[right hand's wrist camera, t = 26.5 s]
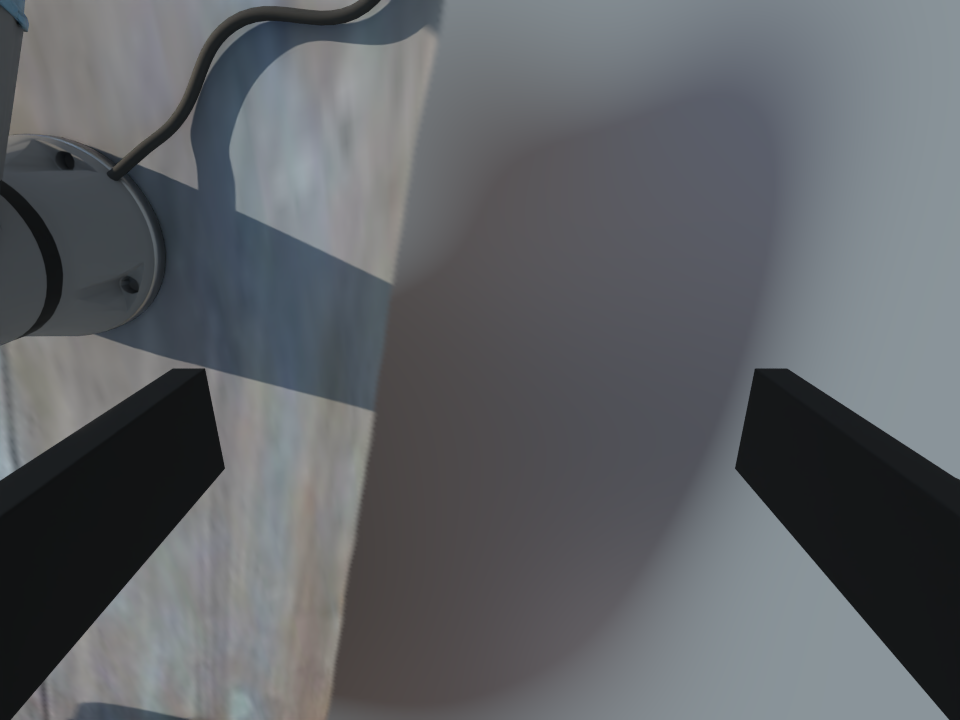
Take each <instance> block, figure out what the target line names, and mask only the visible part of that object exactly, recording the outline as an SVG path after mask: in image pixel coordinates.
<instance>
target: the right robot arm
mask: <svg viewBox="0 0 960 720" xmlns="http://www.w3.org/2000/svg"><path fill="white" fill-rule="evenodd" d="M379 2H380V0H359V1H357V2H355V3H354V4H352V5H350V6H347V7H345V8H342V9H337V10H331V11H315V10H305V9H297V8H289V7H278V6H262V7H254V8H250V9H247V10H243V11H240V12H238V13H236V14H235V15H233V16H231V17H229V18H228V19H226V20H225V21H224V22H223V23H221V24H220V25H219V26H218V27H217V28H216V29H215V30H214V32H213V33H212V34H211V35H210V37H209V38H208V40H207V41H206V43H205V44H204V46H203V48H202V50H201V52H200V54H199V57H198V59H197V62H196V64H195V67H194V70H193V73H192V75H191V78H190V81H189V84H188V86H187V89H186V91H185V94H184V96H183V98H182V100H181V102H180V104H179V106H178V107H177V109H176V111H175V112H174V113H173V115H172V116H171V117H170V119H169V120H168V121H167V122H166V123H165V124H164V125H163V126H162V127H161V128H160V129H158V130H157V131H156V132H155V133H153V134H152V135H151V136H149V137H148V138H147V139H145V140H144V141H143V142H142V143H140V144H139V145H138V146H137V147H136V148H134V149H133V150H132V151H131V152H130V153H129V154H128V155H126V156H125V157H124V158H123V159H122V160H121V161H120V162H118V163H117V164H115V163H114V162H112V161H111V160H110V159H108V158H107V157H105V156H104V155H102V154H101V153H99V152H97V151H96V150H94V149H92V148H90V147H88V146H86V145H83V144H81V143H78V142H76V141H73V140H69V139H66V138H62V137H56V136H49V135H36V134H14V135H9V129H10V122H11V115H12V108H13V101H14V94H15V87H16V80H17V73H18V66H19V59H20V52H21V44H22V37H23V31H24V32H28V27H29V23H28V19H27V17H26V16H25V14H24V6H25V0H0V345H3V344H5V343H8V342H10V341H13V340H16V339H18V338H21V337H24V336H84V335H91V334H96V333H101V332H105V331H108V330H111V329H114V328H116V327H118V326H121V325H123V324H125V323H127V322H129V321H131V320H133V319H135V318H136V317H138V316H139V315H140V314H141V313H143V312H144V311H145V310H146V309H147V308H148V307H149V306H150V304H151V303H152V301H153V300H154V299H155V297H156V295H157V293H158V291H159V289H160V286H161V284H162V280H163V277H164V271H165V246H164V240H163V236H162V231H161V228H160V225H159V222H158V220H157V218H156V215H155V213H154V211H153V209H152V207H151V205H150V203H149V202H148V200H147V199H146V197H145V195H144V194H143V193H142V191H141V190H140V189H139V187H138V186H137V185H136V183H135V182H134V181H133V180H132V179H131V178H130V177H129V176H128V175H127V174H126V173H127V172H129V171H130V170H131V169H132V168H133V167H134V166H135V165H137V164H138V163H139V162H140V161H141V160H142V159H143V158H145V157H146V156H147V155H148V154H149V153H151V152H152V151H153V150H154V149H156V148H157V147H158V146H160V145H161V144H162V143H164V142H165V141H166V140H167V139H169V138H170V137H171V136H172V135H173V134H174V133H175V132H176V131H177V130H178V129H179V128H180V127H181V125H182V124H183V123H184V121H185V120H186V119H187V117H188V115H189V114H190V112H191V110H192V109H193V106H194V104H195V102H196V100H197V98H198V95H199V93H200V91H201V88H202V85H203V82H204V80H205V77H206V74H207V72H208V69H209V66H210V64H211V62H212V60H213V57H214V56H215V54H216V52H217V50H218V49H219V47H220V46H221V45H222V43H223V42H224V41H225V40H226V39H227V38H228V37H229V36H230V35H231V34H233V33H234V32H235V31H236V30H238V29H240V28H242V27H244V26H246V25H248V24H252V23H255V22H261V21H286V22H295V23H303V24H311V25H336V24H342V23H346V22H349V21H352V20H354V19H357V18H359V17H360V16H362V15H364V14H365V13H367V12H369V11H370V10H371V9H372V8H373V7H374V6H375V5H377V4H378V3H379ZM224 469H225V467H224V462H223V457H222V451H221V446H220V441H219V436H218V431H217V426H216V421H215V416H214V411H213V406H212V401H211V396H210V391H209V386H208V381H207V376H206V371H205V369H172V370H170V371H168V372H167V373H165V374H164V375H162V376H161V377H159V378H158V379H156V380H155V381H153V382H152V383H150V384H148V385H147V386H145V387H144V388H142V389H141V390H139V391H138V392H136V393H135V394H133V395H132V396H130V397H128V398H127V399H125V400H124V401H122V402H121V403H119V404H118V405H116V406H115V407H113V408H111V409H110V410H108V411H107V412H105V413H104V414H102V415H101V416H99V417H98V418H96V419H95V420H93V421H91V422H90V423H88V424H87V425H85V426H84V427H82V428H81V429H79V430H78V431H76V432H75V433H73V434H71V435H70V436H68V437H67V438H65V439H64V440H62V441H61V442H59V443H58V444H56V445H55V446H53V447H51V448H50V449H48V450H47V451H45V452H44V453H42V454H41V455H39V456H38V457H36V458H34V459H33V460H31V461H30V462H28V463H27V464H25V465H24V466H22V467H21V468H19V469H18V470H16V471H14V472H13V473H11V474H10V475H8V476H7V477H5V478H4V479H2V480H1V481H0V720H11V719H12V718H13V716H14V715H15V714H16V713H17V712H18V711H19V709H20V708H21V707H22V706H23V705H24V704H25V702H26V701H27V700H28V699H29V698H30V697H31V695H32V694H33V693H34V692H35V691H36V690H37V688H38V687H39V686H40V685H41V684H42V682H43V681H44V680H45V679H46V678H47V677H48V675H49V674H50V673H51V672H52V671H53V670H54V668H55V667H56V666H57V665H58V664H59V663H60V661H61V660H62V659H63V658H64V657H65V655H66V654H67V653H68V652H69V651H70V650H71V648H72V647H73V646H74V645H75V644H76V643H77V641H78V640H79V639H80V638H81V637H82V636H83V634H84V633H85V632H86V631H87V630H88V628H89V627H90V626H91V625H92V624H93V623H94V621H95V620H96V619H97V618H98V617H99V616H100V614H101V613H102V612H103V611H104V610H105V609H106V607H107V606H108V605H109V604H110V603H111V602H112V600H113V599H114V598H115V597H116V596H117V594H118V593H119V592H120V591H121V590H122V589H123V587H124V586H125V585H126V584H127V583H128V582H129V580H130V579H131V578H132V577H133V576H134V575H135V573H136V572H137V571H138V570H139V569H140V567H141V566H142V565H143V564H144V563H145V562H146V560H147V559H148V558H149V557H150V556H151V555H152V553H153V552H154V551H155V550H156V549H157V548H158V546H159V545H160V544H161V543H162V542H163V541H164V539H165V538H166V537H167V536H168V535H169V533H170V532H171V531H172V530H173V529H174V528H175V526H176V525H177V524H178V523H179V522H180V521H181V519H182V518H183V517H184V516H185V515H186V514H187V512H188V511H189V510H190V509H191V508H192V506H193V505H194V504H195V503H196V502H197V501H198V499H199V498H200V497H201V496H202V495H203V494H204V492H205V491H206V490H207V489H208V488H209V487H210V485H211V484H212V483H213V482H214V481H215V480H216V478H217V477H218V476H219V475H220V474H221V472H222V471H223V470H224ZM735 469H736V470H737V471H738V472H739V474H740V475H741V476H742V477H743V478H744V480H745V481H746V482H747V483H748V484H749V485H750V487H751V488H752V489H753V490H754V491H755V492H756V494H757V495H758V496H759V497H760V498H761V499H762V501H763V502H764V503H765V504H766V505H767V506H768V508H769V509H770V510H771V511H772V512H773V513H774V515H775V516H776V517H777V518H778V519H779V521H780V522H781V523H782V524H783V525H784V526H785V528H786V529H787V530H788V531H789V532H790V533H791V535H792V536H793V537H794V538H795V539H796V540H797V542H798V543H799V544H800V545H801V546H802V548H803V549H804V550H805V551H806V552H807V553H808V555H809V556H810V557H811V558H812V559H813V560H814V562H815V563H816V564H817V565H818V566H819V567H820V569H821V570H822V571H823V572H824V573H825V575H826V576H827V577H828V578H829V579H830V580H831V582H832V583H833V584H834V585H835V586H836V587H837V589H838V590H839V591H840V592H841V593H842V594H843V596H844V597H845V598H846V599H847V600H848V602H849V603H850V604H851V605H852V606H853V607H854V609H855V610H856V611H857V612H858V613H859V614H860V616H861V617H862V618H863V619H864V620H865V621H866V623H867V624H868V625H869V626H870V627H871V628H872V630H873V631H874V632H875V633H876V634H877V636H878V637H879V638H880V639H881V640H882V641H883V643H884V644H885V645H886V646H887V647H888V648H889V650H890V651H891V652H892V653H893V654H894V655H895V657H896V658H897V659H898V660H899V661H900V663H901V664H902V665H903V666H904V667H905V668H906V670H907V671H908V672H909V673H910V674H911V675H912V677H913V678H914V679H915V680H916V681H917V682H918V684H919V685H920V686H921V687H922V688H923V689H924V691H925V692H926V693H927V694H928V695H929V696H930V698H931V699H932V700H933V701H934V702H935V704H936V705H937V706H938V707H939V708H940V709H941V711H942V712H943V713H944V714H945V715H946V716H947V718H948V719H949V720H960V480H959V479H957V478H955V477H953V476H952V475H950V474H949V473H947V472H945V471H944V470H942V469H941V468H939V467H938V466H936V465H935V464H933V463H932V462H930V461H929V460H927V459H926V458H924V457H922V456H921V455H919V454H918V453H916V452H915V451H913V450H912V449H910V448H909V447H907V446H905V445H904V444H902V443H901V442H899V441H898V440H896V439H895V438H893V437H892V436H890V435H889V434H887V433H885V432H884V431H882V430H881V429H879V428H878V427H876V426H875V425H873V424H872V423H870V422H868V421H867V420H865V419H864V418H862V417H861V416H859V415H858V414H856V413H855V412H853V411H852V410H850V409H849V408H847V407H845V406H844V405H842V404H841V403H839V402H838V401H836V400H835V399H833V398H832V397H830V396H828V395H827V394H825V393H824V392H822V391H821V390H819V389H818V388H816V387H815V386H813V385H812V384H810V383H808V382H807V381H805V380H804V379H802V378H801V377H799V376H798V375H796V374H795V373H793V372H792V371H790V370H788V369H755V371H754V376H753V381H752V386H751V391H750V396H749V401H748V406H747V411H746V416H745V421H744V426H743V431H742V437H741V441H740V446H739V451H738V457H737V462H736V467H735Z"/></svg>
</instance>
